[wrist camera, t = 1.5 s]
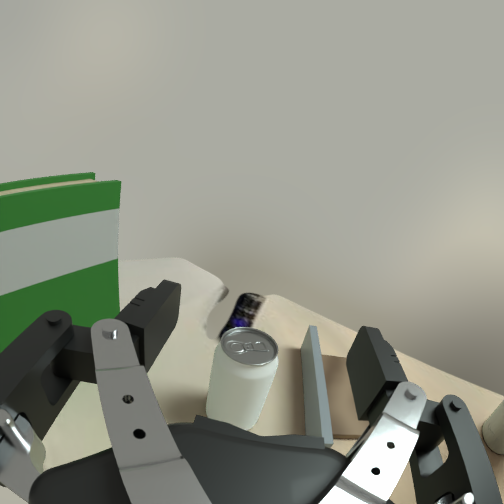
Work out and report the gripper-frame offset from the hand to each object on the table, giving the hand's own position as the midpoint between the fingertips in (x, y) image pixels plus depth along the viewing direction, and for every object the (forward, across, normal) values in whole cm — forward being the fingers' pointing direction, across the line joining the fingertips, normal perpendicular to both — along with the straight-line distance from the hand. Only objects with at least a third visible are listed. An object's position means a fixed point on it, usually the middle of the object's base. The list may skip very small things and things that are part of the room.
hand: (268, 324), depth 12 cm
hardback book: (+10, +24, +23) cm, 35 cm away
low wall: (+17, -10, +22) cm, 30 cm away
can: (+12, 0, +22) cm, 25 cm away
